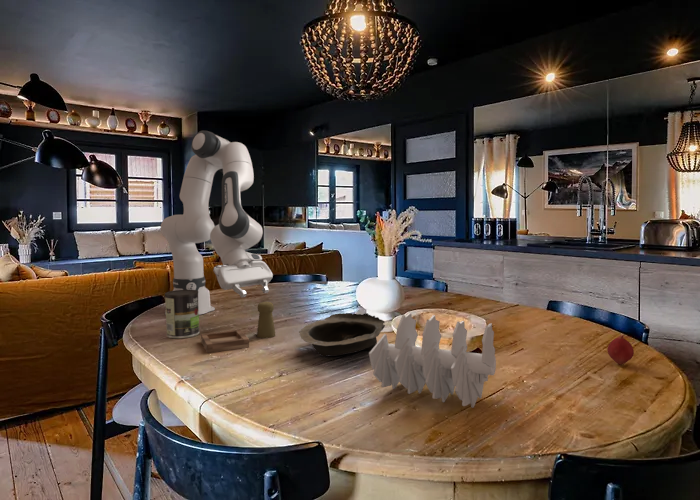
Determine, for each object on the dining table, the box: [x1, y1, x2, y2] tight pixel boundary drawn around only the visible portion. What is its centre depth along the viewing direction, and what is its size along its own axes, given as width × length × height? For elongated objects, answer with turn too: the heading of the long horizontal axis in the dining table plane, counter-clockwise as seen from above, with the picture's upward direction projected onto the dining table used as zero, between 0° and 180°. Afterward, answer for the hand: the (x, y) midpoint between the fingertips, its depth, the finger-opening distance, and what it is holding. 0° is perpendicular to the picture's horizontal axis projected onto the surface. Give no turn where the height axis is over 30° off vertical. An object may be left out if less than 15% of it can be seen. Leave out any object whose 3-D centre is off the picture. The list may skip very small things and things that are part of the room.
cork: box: [256, 301, 277, 339], centre depth 145 cm, size 6×6×11 cm
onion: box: [607, 334, 635, 366], centre depth 116 cm, size 6×6×8 cm
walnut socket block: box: [200, 329, 250, 354], centre depth 135 cm, size 12×12×2 cm
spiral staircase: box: [368, 312, 497, 408], centre depth 97 cm, size 18×18×25 cm
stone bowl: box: [298, 312, 386, 358], centre depth 129 cm, size 25×25×9 cm
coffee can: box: [164, 290, 200, 339], centre depth 147 cm, size 10×10×14 cm
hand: (255, 294), depth 151 cm, fingers open, 8 cm apart
